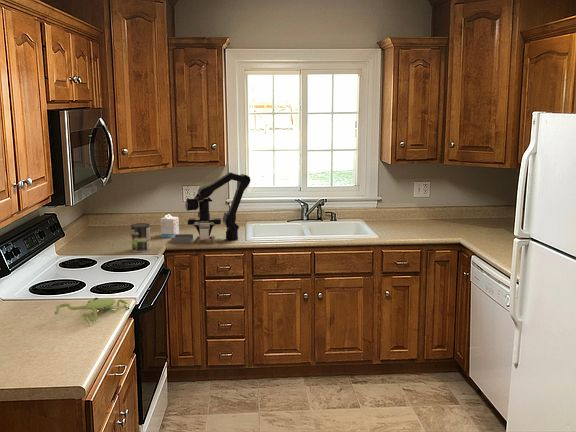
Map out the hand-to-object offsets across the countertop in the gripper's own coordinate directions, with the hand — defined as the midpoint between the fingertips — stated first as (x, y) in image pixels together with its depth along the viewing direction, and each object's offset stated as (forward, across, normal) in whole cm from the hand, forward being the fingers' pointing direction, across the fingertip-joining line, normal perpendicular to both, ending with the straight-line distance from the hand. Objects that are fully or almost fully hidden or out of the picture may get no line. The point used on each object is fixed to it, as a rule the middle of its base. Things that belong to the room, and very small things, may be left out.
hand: (204, 235), depth 357 cm
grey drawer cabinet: (+3, +13, 0) cm, 14 cm away
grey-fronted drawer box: (+1, 0, 0) cm, 1 cm away
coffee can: (+4, +33, +19) cm, 38 cm away
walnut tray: (+3, 0, 0) cm, 3 cm away
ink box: (+4, +23, -14) cm, 27 cm away
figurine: (+4, +29, +122) cm, 125 cm away
